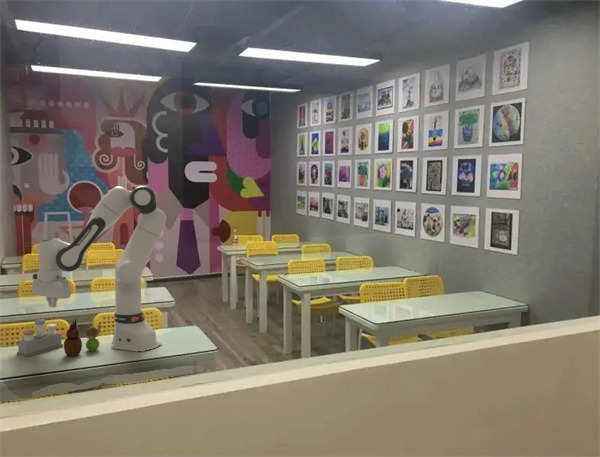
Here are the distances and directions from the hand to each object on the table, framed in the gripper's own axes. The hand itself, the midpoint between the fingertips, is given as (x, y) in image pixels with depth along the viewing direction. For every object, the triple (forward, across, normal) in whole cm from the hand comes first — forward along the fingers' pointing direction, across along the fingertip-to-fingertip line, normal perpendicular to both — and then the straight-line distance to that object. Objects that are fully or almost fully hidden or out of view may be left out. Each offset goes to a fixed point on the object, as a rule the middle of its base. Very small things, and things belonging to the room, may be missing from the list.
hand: (52, 306), depth 224 cm
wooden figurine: (+18, -16, +4) cm, 25 cm away
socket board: (+18, +1, +6) cm, 19 cm away
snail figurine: (+19, -18, -5) cm, 27 cm away
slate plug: (+13, +1, +6) cm, 14 cm away
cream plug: (+16, +1, +1) cm, 16 cm away
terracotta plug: (+16, +1, +12) cm, 20 cm away
